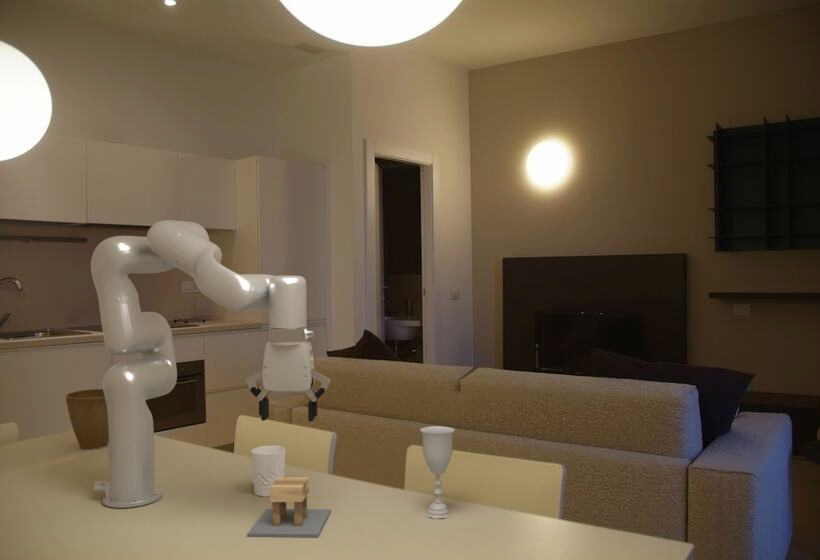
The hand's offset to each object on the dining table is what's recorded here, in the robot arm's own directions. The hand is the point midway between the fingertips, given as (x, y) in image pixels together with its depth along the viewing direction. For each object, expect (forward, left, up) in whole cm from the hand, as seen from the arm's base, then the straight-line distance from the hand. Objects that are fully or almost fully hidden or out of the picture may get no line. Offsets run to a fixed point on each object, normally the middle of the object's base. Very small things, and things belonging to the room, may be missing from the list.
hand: (288, 419), depth 143 cm
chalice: (+30, +6, -22) cm, 38 cm away
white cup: (-10, +20, -22) cm, 31 cm away
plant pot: (-74, +61, -22) cm, 98 cm away
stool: (0, 0, -21) cm, 21 cm away
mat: (0, 0, -21) cm, 21 cm away
